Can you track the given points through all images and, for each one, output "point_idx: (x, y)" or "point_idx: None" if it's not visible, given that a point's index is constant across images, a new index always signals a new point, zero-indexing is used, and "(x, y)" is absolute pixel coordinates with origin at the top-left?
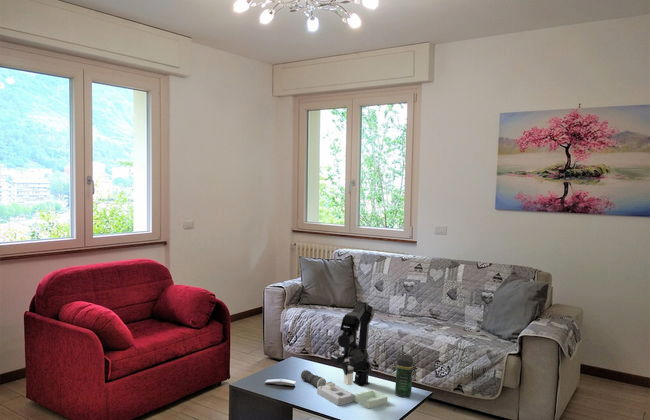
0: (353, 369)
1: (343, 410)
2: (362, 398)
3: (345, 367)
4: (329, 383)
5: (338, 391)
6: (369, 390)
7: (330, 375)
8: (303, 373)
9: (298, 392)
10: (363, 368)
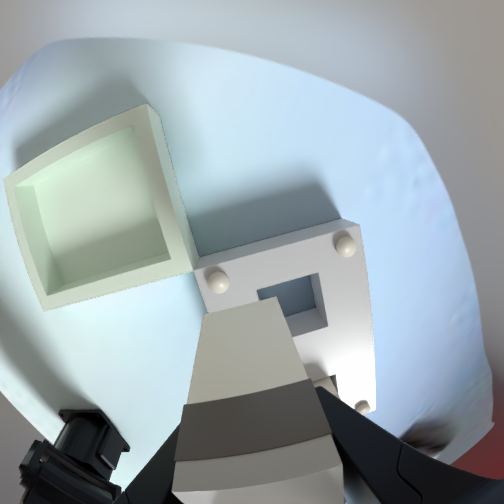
0: (175, 455)
1: (335, 139)
2: (160, 178)
3: (439, 462)
4: None
5: None
6: (65, 305)
7: None
8: (345, 499)
9: (419, 399)
10: (59, 472)
